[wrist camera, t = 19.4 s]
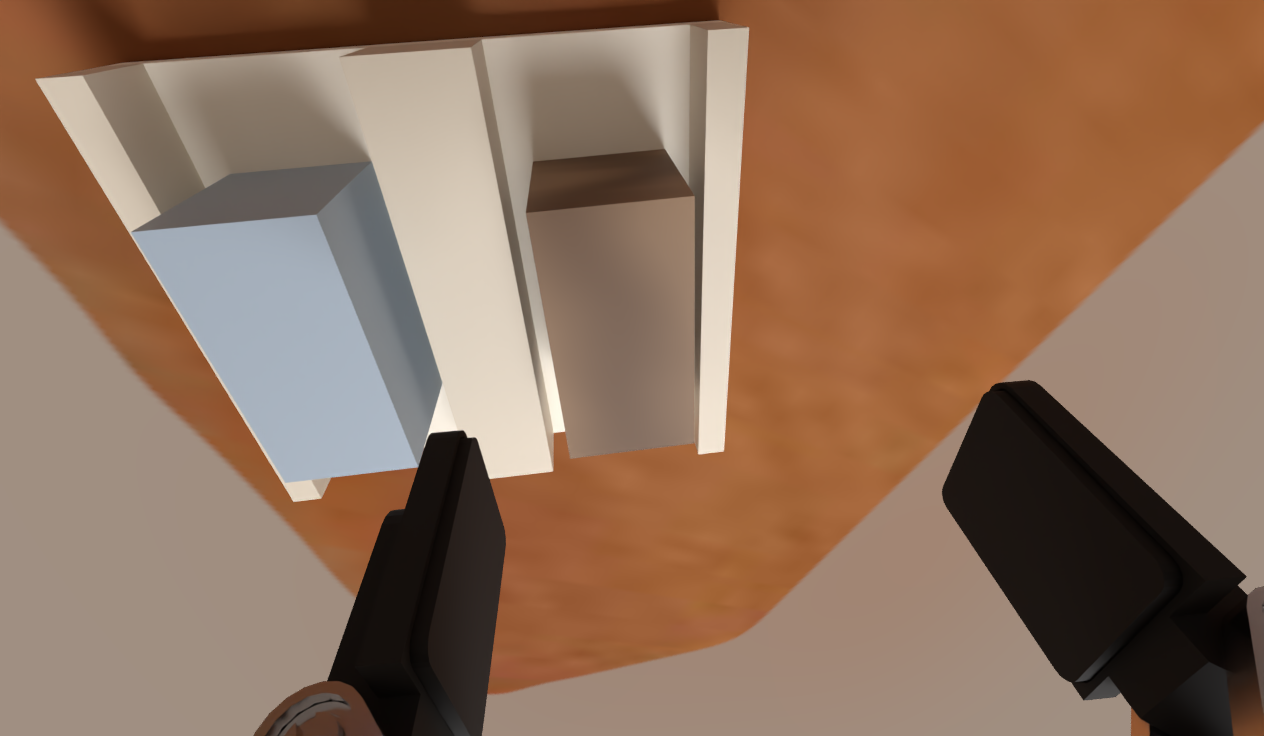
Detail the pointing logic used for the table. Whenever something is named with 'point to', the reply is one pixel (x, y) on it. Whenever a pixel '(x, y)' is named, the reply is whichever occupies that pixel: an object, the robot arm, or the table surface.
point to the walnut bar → (617, 297)
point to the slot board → (531, 100)
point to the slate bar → (304, 315)
